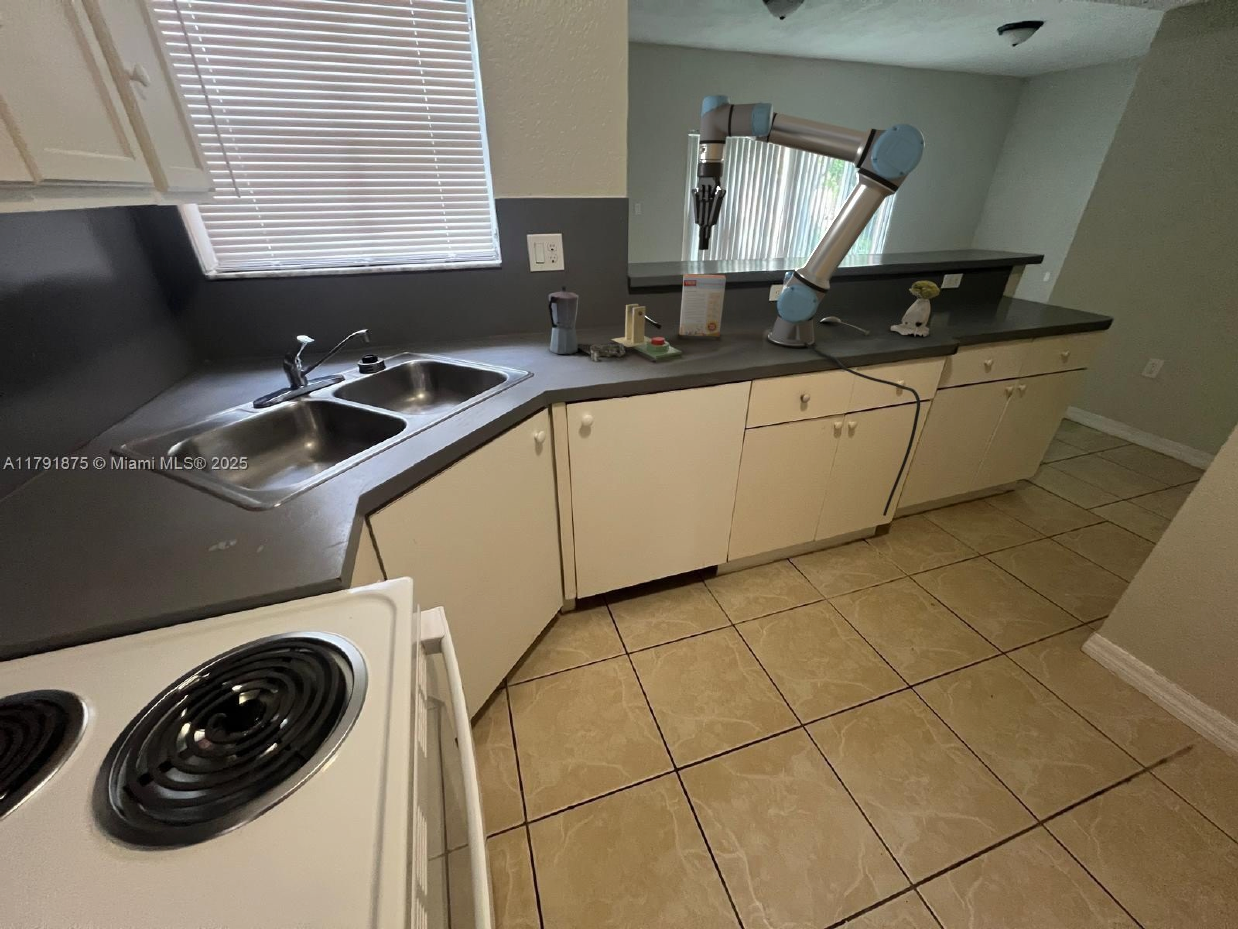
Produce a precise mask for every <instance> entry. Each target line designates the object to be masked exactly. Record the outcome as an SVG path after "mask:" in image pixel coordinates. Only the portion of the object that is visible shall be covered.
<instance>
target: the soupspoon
mask: <svg viewBox="0 0 1238 929" xmlns="http://www.w3.org/2000/svg"><path fill="white" fill-rule="evenodd" d="M820 322H834V323H836V324H837V323H838V324H842V325H846V326H848V327H851V328H854V329H857V330H859V331H861V332H862V333H864V335H865V336H869V335H870V331H869V330H866V329H864V328H860V327H858V326H855V325H853V324H849V323H846V322H843V321H841V319H840V318H838V317H836V316H827V317H825V318H823V319H821V320H820Z"/></svg>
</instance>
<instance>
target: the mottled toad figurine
mask: <svg viewBox="0 0 1238 929" xmlns="http://www.w3.org/2000/svg"><path fill="white" fill-rule="evenodd" d="M589 349H590V352H589V353H591V354H590V357H591V361H595V362H600V361H601V359H600V357H606V358H611V357H613V356H616V357H622V356H625V354H626V351H625V350H626V349H625V346H624V345H623V344H622V343H616V344H615V343H613V344H611V343H608V344H599V343H593V344H592V345H591V346H590V347H589ZM617 351H619V352H617Z"/></svg>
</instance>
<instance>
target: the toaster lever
mask: <svg viewBox="0 0 1238 929" xmlns="http://www.w3.org/2000/svg"><path fill="white" fill-rule="evenodd" d="M634 307H635V306H632V308H631V310H630V311H629V313H631V314H632V315H633V308H634ZM645 322H647V323H648V325H649V326H651V327H653V328H656V329H658V330H661V329H662V325H661V324H660V323H658V322H655V321H654V320H651V319H650V318H649V317H648V316H647V315H645Z"/></svg>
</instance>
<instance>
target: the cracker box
mask: <svg viewBox="0 0 1238 929" xmlns="http://www.w3.org/2000/svg"><path fill="white" fill-rule="evenodd" d="M726 282H727V277H726V276H725V275H724V274H699V273H698V274H696V273H695V274H693V273H691V274H689V273H685V274H683V282H682V293H681V305H680V321H679V335H680V336H692V337H693V336H695V337H718V338H719V337H720V334H721V326H722V317H723V309H724V299H725V290H726Z"/></svg>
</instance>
